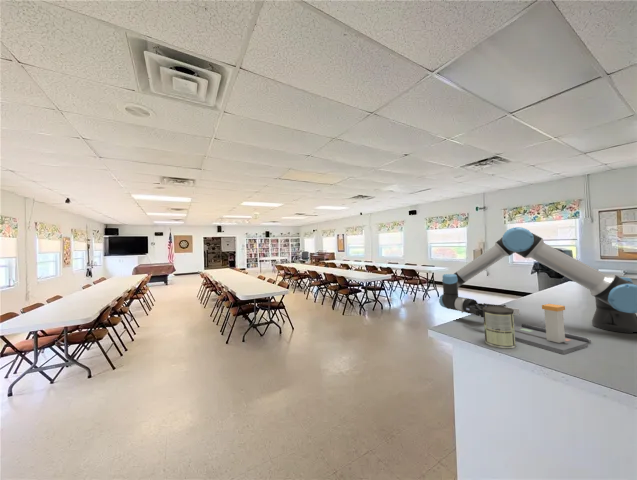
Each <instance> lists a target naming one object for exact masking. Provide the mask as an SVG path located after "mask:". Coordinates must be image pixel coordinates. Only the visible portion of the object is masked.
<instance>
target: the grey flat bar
mask: <svg viewBox="0 0 637 480" xmlns="http://www.w3.org/2000/svg"><path fill="white" fill-rule="evenodd" d="M520 327H523V328H527V329H532V330H536V331H540V332H544V333H546V327H540V326H536V325H532V324H530V325H529V324H524V323H522V324H521V326H520ZM565 338H570V339H574V340H578V341H582V342H587V343H588V344H590V343H591V342H592V339H591V338H589V337H587V336H586V337H585V336H581V335H577V334H576V335H575V334H572V333H566V332H565Z"/></svg>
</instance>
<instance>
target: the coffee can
mask: <svg viewBox="0 0 637 480" xmlns="http://www.w3.org/2000/svg"><path fill="white" fill-rule="evenodd" d="M507 307H508V306H506V307H500V306H486V307H483V315H484V317H483V327H484V328H483V329H484V342H485V344H487V345H488V346H491V347H494V348H499V349H515V348H516V347H517V346H516V345H517V344H516V341H515V330H514V325H515V320H514V319H515V318H514V314H513V312H514V310H513V309H511V308H512V307H510V308H507Z"/></svg>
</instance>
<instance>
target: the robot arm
mask: <svg viewBox="0 0 637 480" xmlns="http://www.w3.org/2000/svg"><path fill="white" fill-rule="evenodd" d="M515 253H516V254H517V255H518V256H520V257H522V258H525V259H530V258H531V259H533V260H535V261H536V262H538V263H540V264H542V265H544V266H546V267H547V268H549V269H551V270H553V271H554V272H556V273H559V274H560V275H561V276H564V277H566V278H567V279H569V280H571V281H572V282H575V283H576V284H578V285H579V286H580V285H581V286H582V287H584V288H585V289H587V290H589V292H590V295H591V296H592V297H595V299H594V301H595V312H594V314H593V317H592V319H591V325H592V326H593V327H594V328H598V329H602V330H606V331H611V332H618V333H628V334H634V333H633V332H637V284H634V282H633V279H632V278H631V277H624V276H623V277H621V276H618V275H616V274H614V273H613V274H612V273H610V274H606V273H603V272H601V271H599V270H598V269H595V268H594V267H592V266H590V265H588V264H586V263H584V262H582V261H580V260H578V259H576V258H574V257H572V256H570V255H568V254H566V253H565V252H562V251H561V250H559V249H557V248H555V247H553V246H551V245H549V244H547V243H546V242H544V238H542V237H541V236H538V235H537V234H535V233H533V232H531V231H530V230H529V229H527V228H525V227H522V226H521V227H520V226H516V227H511V228H508V229H507V230H506V231H505V232H504V233H503V235H502V237H501V238H500V239H498V240H497V241H495V244H494V245H493V246H491V247H490V248H489V249H488V250H486V251H484V252H483V253H482V254H480V255H478V257H476V258H474V259H473V260H471V261H470V262H469V263H467V264H466V265H464V266H463V267H461V268H460V269H459V270H457V271H456V272H454V273H445V274H442V281H441V282H442V293H443V294H441V295H440V296H439V299H438V303H439V305H440V306H441V307H442V308H446V309H448V310H453V311H459V312H461V313H462V314H463V313H467V314H470V315H475V316H477V317H480V318H484V315H483V307H486V306H500V307H507V308H511V309H513V310H514V312H513V315H516V316H520V308H516V307H509V306H507V305H506V304H493V303H491V304H490V303H479V302H478V301H477V300H476V299H473V298H468V297H463V296H459V287H461V286H462V285H463V284H465V283H467V282H468V281H470V280H471V279H472V278H474V277H475V276H478V275H479V274H480V273H482V272H483V271H485V270H486V269H488V268H490V267H491V266H492V265H494V264H495V263H498V261H501V259H504V258H505V257H506V256H507V257H510V256H511V255H513V254H515Z"/></svg>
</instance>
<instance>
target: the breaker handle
mask: <svg viewBox="0 0 637 480" xmlns="http://www.w3.org/2000/svg"><path fill="white" fill-rule="evenodd" d="M541 309H542V310H544V319H545V320H544V321H545V324H544V325H545V328H546V337H547V340H549V341H553V342H557V343H561V342H565V333H566V331H565V322H564V320H565V319H564V311H566V306H565V305H561V304H552V303H547V304H542V305H541Z"/></svg>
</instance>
